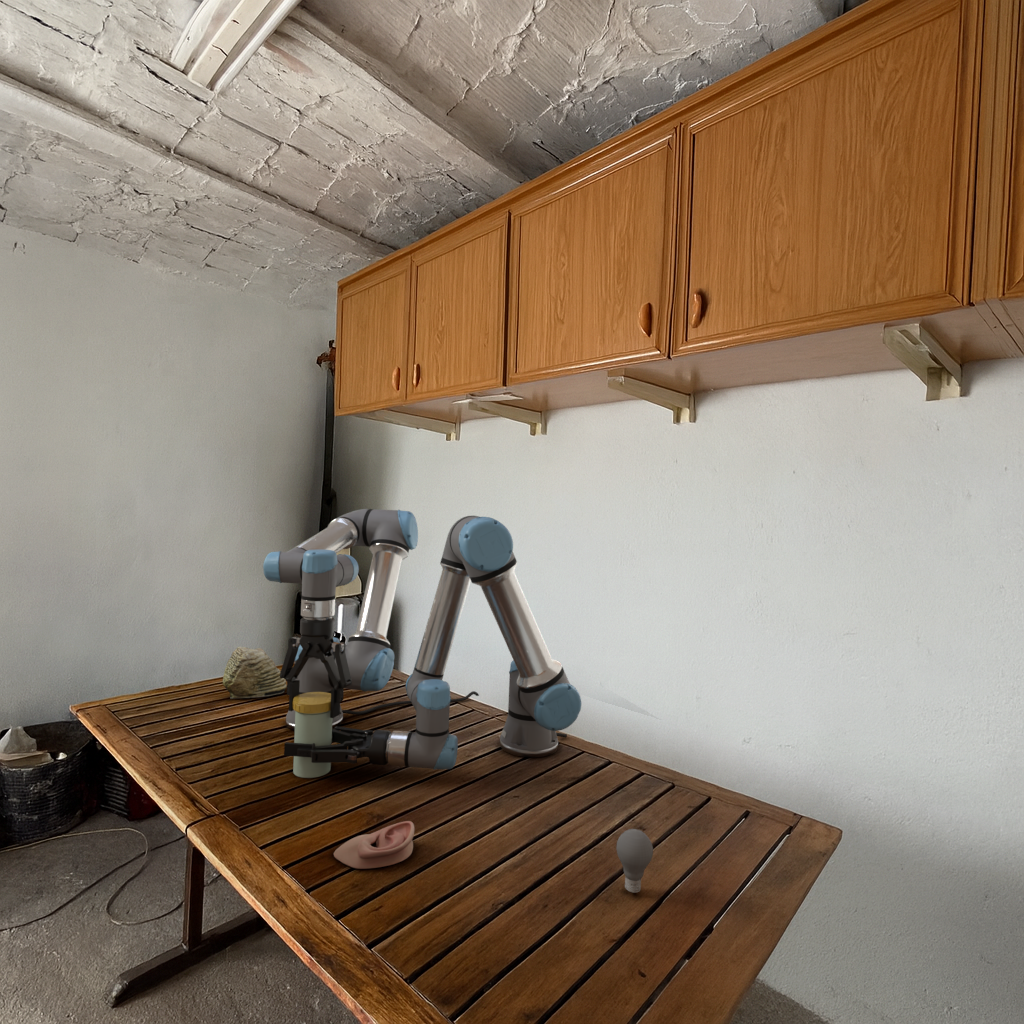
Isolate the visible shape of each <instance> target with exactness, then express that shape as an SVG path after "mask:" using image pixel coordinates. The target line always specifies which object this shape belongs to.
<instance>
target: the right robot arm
mask: <svg viewBox="0 0 1024 1024" xmlns="http://www.w3.org/2000/svg"><path fill="white" fill-rule="evenodd" d="M441 555H442V556H441V559H440V562H439V563H440V564H439V565H440V566H441V569H442V571H441V574H440V577H439V580H438V583H437V587H436V591H435V594H434V597H433V601H432V605H431V608H430V612H429V616H428V618H427V622H426V626H425V629H424V632H423V636H422V639H421V642H420V646H419V650H418V654H417V656H416V660H415V664H414V667H413V670H412V673H411V674H410V675H409V676H408V677H407V679H406V681H405V691H406V692H405V693H406V695H407V697H408V699H409V701H411V702H412V706H413V708H414V710H415V732H414V731H404V730H393V731H391V730H388V729H387V730H385V729H375V730H372V729H358V728H352V727H345V726H340V725H339V726H336V727H335V728H333V729H332V743H335V744H331V745H324V746H315V743H313V744H304V743H294V742H288V741H287V742H286V741H285V742H284V748H283V756H287V757H294V756H298V757H311V758H312V759H311V762H312V763H331V764H332V763H333V764H334V763H335V764H337V763H338V764H339V763H341V764H342V763H343V764H344V763H347V764H355V765H356V764H357V763H358V759H362V758H368V760H369V761H368V762H369V763H370V764H371V765H373V766H374V765H375V766H387V765H389V766H391V767H399V769H403V768H419V769H429V770H434V771H435V770H451V769H453V768H454V767H455V765H456V763H457V758H458V749H459V743H458V740H459V739H458V737H457V735H455V734H452V733H450V729H449V726H450V708H451V702H450V700H451V699H452V696H451V686H450V684H449V682H448V681H446V680H443V678H444V674H445V671H446V668H447V664H448V660H449V657H450V654H451V651H452V647H453V644H454V641H455V638H456V637H455V636H456V633H457V630H458V627H459V623H460V620H461V617H462V612H463V609H464V606H465V603H466V599H467V596H468V593H469V589H470V585H471V583H472V584H474V585H476V586H479V587H480V588H481V591H482V592H483V595H484V597H485V600H486V602H487V604H488V607H489V609H490V611H491V613H492V615H493V617H494V620H495V622H496V624H497V626H498V629H499V632H500V633H501V635H502V638H503V639H504V642H505V644H506V647H507V649H508V651H509V653H510V656H511V658H512V660H511V662H510V667H509V671H508V674H509V681H508V682H509V683H508V704H507V707H508V709H507V717H506V719H505V722H504V724H503V728H502V730H501V733H500V736H499V747H500V748H501V749H502V750H503V751H504V752H506V753H508V754H509V755H514V756H517V757H521V758H543V757H547V756H550V755H553V754H555V753H556V752H557V750H558V749H559V740H558V737H560V738H565V739H566V738H567V737H568V735H567V733H562V732H558V731H563V730H565V729H568V728H569V727H570V726H572V725H573V724H574V723H575V721H577V719H578V717H579V714H580V712H581V710H582V698H581V694H580V692H579V691H578V689H577V688H576V687H575V686H574V685H573V684H571V683H570V681H569V679H568V676H567V674H566V672H565V669H564V667H563V665H562V663H561V662H560V661H558V660H557V659H554V658H553V657H552V655H551V653H550V651H549V648H548V646H547V643H546V642H545V639H544V636H543V635H542V632H541V630H540V628H539V625H538V623H537V621H536V618H535V615H534V614H533V612H532V609H531V607H530V605H529V602H528V600H527V597H526V595H525V593H524V591H523V588H522V586H521V584H520V581H519V579H518V576H517V575H516V572H515V570H516V568H517V565H518V561H517V558H516V556H515V553H514V539H513V536H512V534H511V532H510V531H509V529H508V527H506V526H505V525H504V524H503V523H502V522H500V521H499V520H497V519H495V518H492V517H490V516H478V515H467V516H463V517H460V518H459V519H458V520H456V521H455V522H454V523H453V525H452V526H451V528H450V529H449V531H448V533H447V537H446V541H445V544H444V548H443V552H442V554H441ZM336 743H337V744H336Z"/></svg>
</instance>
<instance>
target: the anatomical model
mask: <svg viewBox="0 0 1024 1024" xmlns="http://www.w3.org/2000/svg"><path fill="white" fill-rule="evenodd" d="M414 836H415V824H414V823H413V822H412V821H411V820H405V821H400V822H397V823H393V824H391V825H388V826H386V827H383V828H381V829H379V830H376V831H373V832H371V833H368V834H367V833H366V834H361V835H357V836H355V837H353V838H351V839H349V840H347V841H345V842H344V843H342V844H341V845H340V846H338V847H337V848H336V849H335V851H334V852H333V857H334V858H335V859H336V860H337V861H339V862H341V863H342V864H344V865H346V866H348V867H350V868H353V869H357V870H367V869H376V868H377V869H378V868H382V867H387V866H388V867H389V866H393V865H395V864H398V863H400V862H403V861H405V860H407V859H408V858H409V857H410V856H411V855H412V853H413V850H414V841H413V839H414Z"/></svg>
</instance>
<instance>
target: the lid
mask: <svg viewBox="0 0 1024 1024" xmlns="http://www.w3.org/2000/svg"><path fill="white" fill-rule="evenodd" d="M293 709H294V710H295V711H297V712H300V713H306V714H315V713H323V712H327V711H330V709H331V693H327V692H309V693H303V694H300V695H297V696H295V697H294V699H293Z"/></svg>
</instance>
